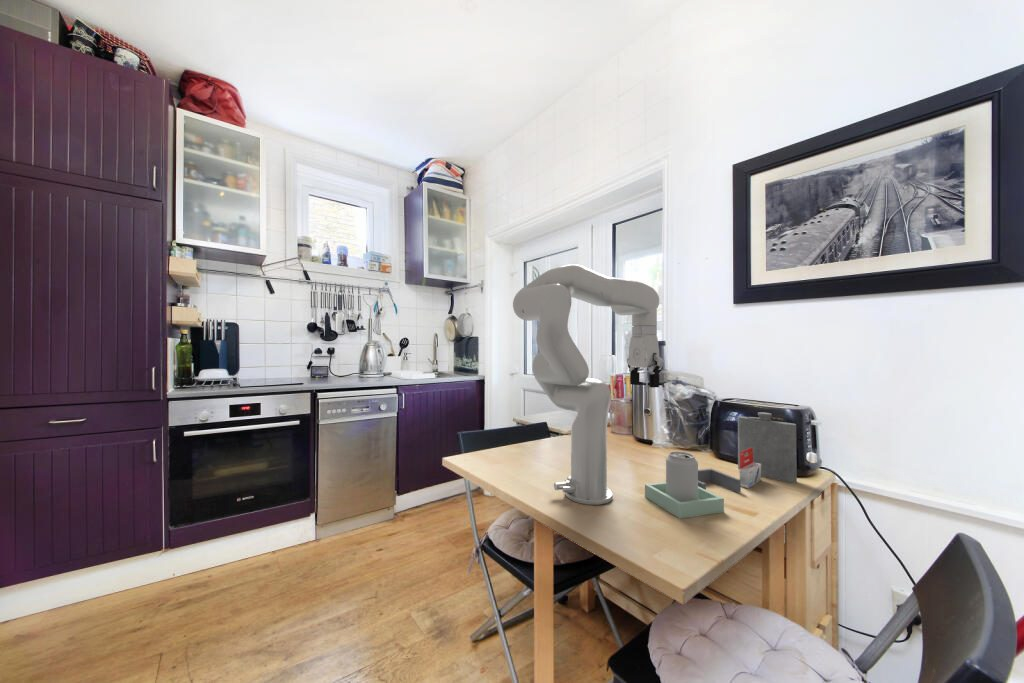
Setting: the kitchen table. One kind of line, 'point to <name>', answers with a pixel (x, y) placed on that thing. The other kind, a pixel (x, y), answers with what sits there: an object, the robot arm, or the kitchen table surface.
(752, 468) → the ink cartridge box
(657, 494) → the tray
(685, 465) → the can
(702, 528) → the kitchen table surface
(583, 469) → the robot arm
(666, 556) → the kitchen table surface
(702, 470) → the bay
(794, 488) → the kitchen table surface
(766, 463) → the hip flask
